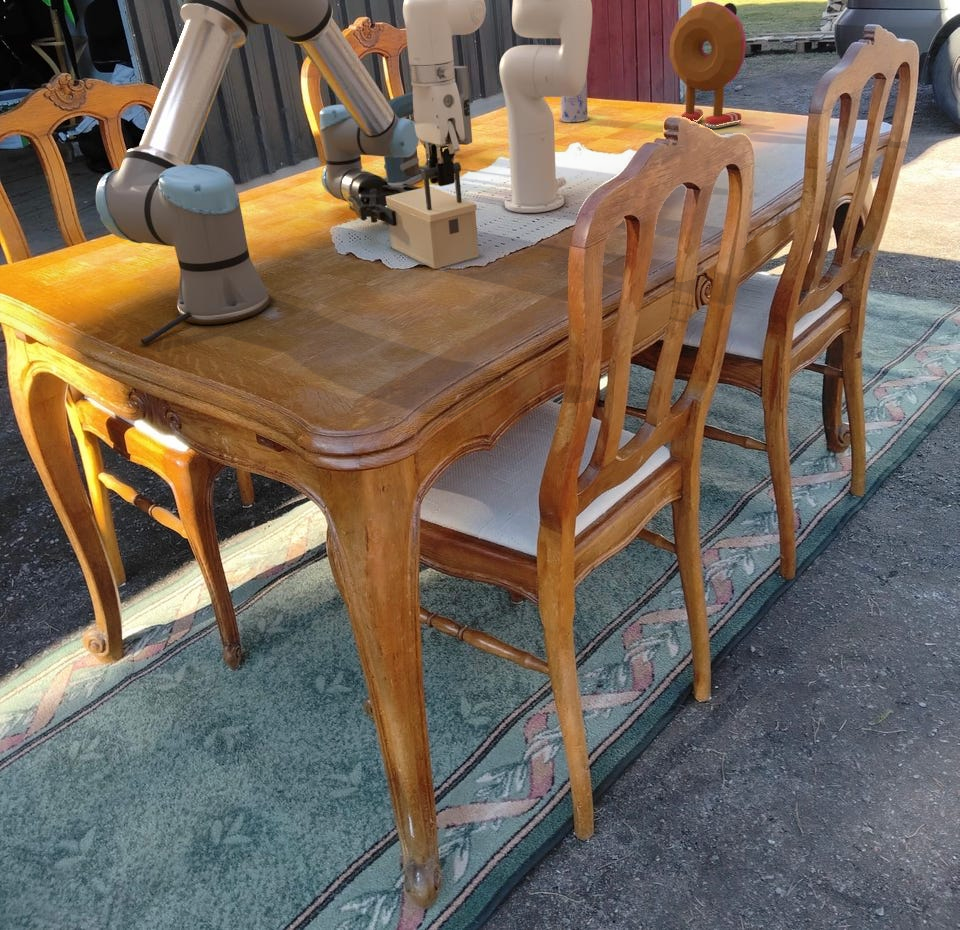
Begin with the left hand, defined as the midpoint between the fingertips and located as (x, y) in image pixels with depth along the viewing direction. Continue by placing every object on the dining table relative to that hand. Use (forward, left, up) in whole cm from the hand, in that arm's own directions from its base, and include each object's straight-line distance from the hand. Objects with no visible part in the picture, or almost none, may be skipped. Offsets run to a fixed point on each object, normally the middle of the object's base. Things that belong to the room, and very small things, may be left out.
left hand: (418, 212), depth 185 cm
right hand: (-7, -8, +8) cm, 13 cm away
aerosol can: (+113, -6, -7) cm, 113 cm away
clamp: (+56, +20, -7) cm, 60 cm away
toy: (+104, -44, -7) cm, 113 cm away
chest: (-3, -4, -7) cm, 8 cm away
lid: (-3, -4, +2) cm, 6 cm away
